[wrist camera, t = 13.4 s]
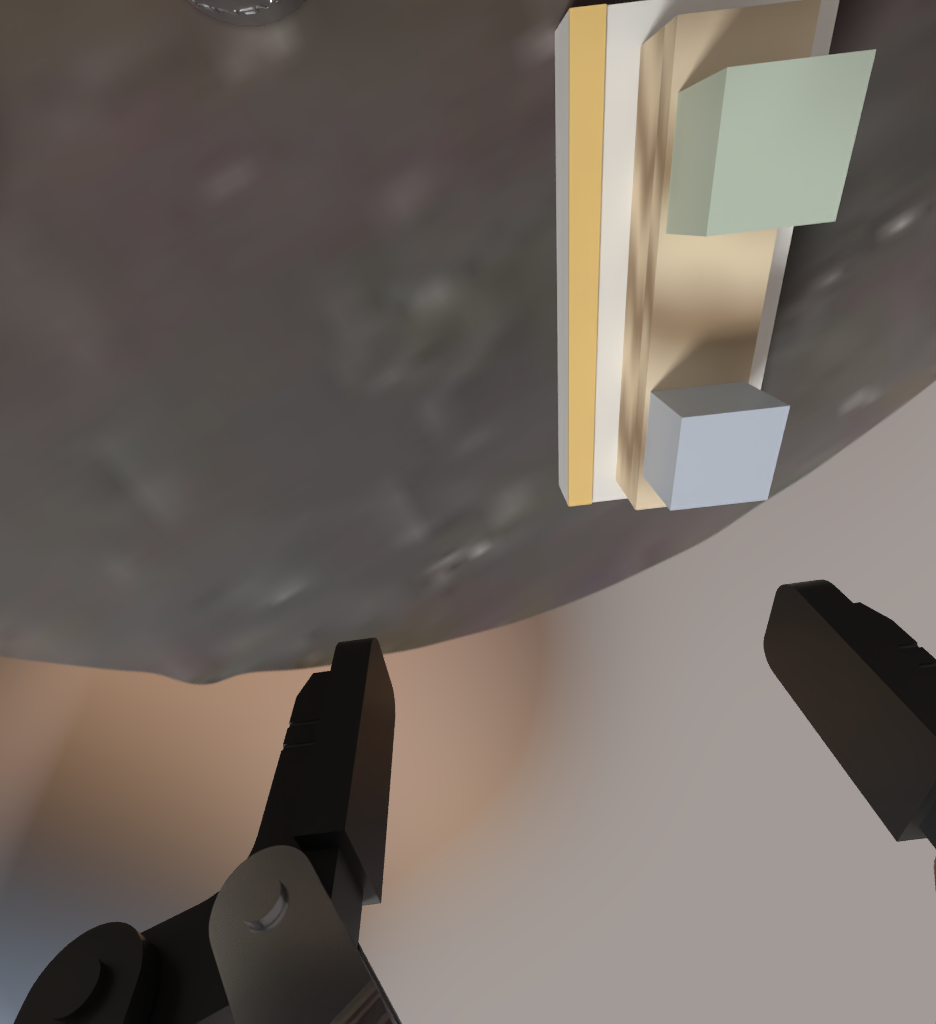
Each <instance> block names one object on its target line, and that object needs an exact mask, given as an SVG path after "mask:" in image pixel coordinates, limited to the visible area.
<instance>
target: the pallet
mask: <svg viewBox="0 0 936 1024" xmlns="http://www.w3.org/2000/svg"><path fill="white" fill-rule="evenodd" d="M820 5H821V0H800V1H791V2H783V3H774V4H766V5H757V6H749V7H741V8H732V9H724V10H715V11H707V12H698V13H690V14H682V15H677V16H676V17H675V18H673V19H672V20H671V21H670V22H669V23H667V24H666V25H665V26H664V27H663V28H661V29H660V30H659V31H658V32H657V33H656V34H654V35H653V36H652V37H651V38H650V39H648V40H647V41H646V42H645V43H644V44H643V45H641V49H640V67H639V84H638V101H637V118H636V136H635V153H634V170H633V187H632V205H631V222H630V239H629V256H628V274H627V291H626V308H625V325H624V343H623V360H622V377H621V394H620V412H619V429H618V446H617V463H616V482H617V483H618V485H619V486H620V488H621V489H622V490H623V492H624V493H625V495H626V496H627V498H628V499H629V501H630V502H631V504H632V505H633V507H634V508H635V510H641V509H650V508H659V507H667V506H666V505H665V503H664V502H663V501H662V500H661V498H660V497H659V496H658V495H657V493H656V492H655V491H654V489H653V488H652V487H651V486H650V484H649V483H648V482H647V481H646V479H645V478H644V477H643V466H644V455H645V444H646V434H647V423H648V412H649V401H650V392H653V391H662V390H671V389H680V388H689V387H698V386H707V385H716V384H725V383H734V382H743V381H744V382H746V383H749V378H750V373H751V367H752V362H753V357H754V352H755V346H756V341H757V336H758V331H759V325H760V320H761V315H762V310H763V304H764V299H765V294H766V289H767V283H768V278H769V273H770V267H771V262H772V257H773V252H774V246H775V241H776V236H777V231H778V228H774V229H766V230H758V231H749V232H741V233H732V234H724V235H715V236H707V237H705V236H691V235H677V234H666V222H667V211H668V200H669V188H670V177H671V166H672V154H673V143H674V132H675V120H676V109H677V98H678V93H679V92H681V91H682V90H684V89H686V88H688V87H690V86H692V85H694V84H696V83H698V82H700V81H702V80H704V79H706V78H708V77H709V76H711V75H713V74H715V73H717V72H719V71H721V70H723V69H725V68H727V67H733V66H742V65H750V64H758V63H767V62H775V61H783V60H791V59H800V58H808V57H811V52H812V47H813V41H814V36H815V31H816V26H817V20H818V15H819V10H820Z"/></svg>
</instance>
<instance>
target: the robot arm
mask: <svg viewBox="0 0 936 1024" xmlns="http://www.w3.org/2000/svg"><path fill="white" fill-rule="evenodd" d="M187 1H188V2H189V3H190V4H192V5H193V6H194V7H195V8H197V9H199V10H201V11H202V12H204V13H206V14H208V15H210V16H211V17H213V18H215V19H217V20H220V21H224V22H227V23H231V24H234V25H237V26H262V25H265V24H269V23H273V22H276V21H279V20H281V19H283V18H284V17H286V16H287V15H289V14H290V13H292V12H294V11H295V10H297V9H298V7H299V6H300V5H301V4H302V3H303V2H304V1H305V0H187ZM764 652H765V656H766V659H767V662H768V664H769V666H770V668H771V669H772V671H773V673H774V674H775V675H776V677H777V678H778V679H779V681H780V682H781V683H782V685H783V686H784V688H785V689H786V690H787V692H788V693H789V694H790V696H791V697H792V699H793V700H794V701H795V702H796V704H797V705H798V707H799V708H800V710H801V711H802V712H803V713H804V715H805V716H806V718H807V719H808V720H809V722H810V723H811V725H812V726H813V727H814V728H815V730H816V731H817V733H818V734H819V735H820V737H821V738H822V740H823V741H824V742H825V744H826V745H827V747H828V748H829V749H830V751H831V752H832V753H833V754H834V756H835V757H836V759H837V760H838V762H839V763H840V764H841V766H842V767H843V768H844V770H845V771H846V772H847V774H848V775H849V777H850V778H851V779H852V781H853V782H854V784H855V785H856V786H857V788H858V789H859V790H860V791H861V793H862V794H863V796H864V797H865V798H866V800H867V801H868V803H869V804H870V805H871V807H872V808H873V810H874V811H875V812H876V814H877V815H878V816H879V818H880V819H881V820H882V822H883V823H884V825H885V826H886V827H887V829H888V830H889V831H890V833H891V834H892V835H893V837H894V838H895V840H896V841H906V840H914V839H922V838H928V839H929V841H930V842H931V843H932V845H933V846H934V847H935V848H936V659H935V658H934V657H933V656H932V655H930V654H929V653H928V652H927V651H926V650H925V649H924V648H923V647H920V648H919V647H918V645H917V642H916V641H915V640H914V639H913V638H912V637H910V636H909V635H908V634H907V633H906V632H905V631H903V629H902V628H900V627H899V626H898V625H897V624H896V623H895V622H894V621H892V620H891V619H889V618H887V617H886V616H884V615H882V614H880V613H878V612H876V611H875V610H873V609H871V608H869V607H867V606H866V605H864V604H862V603H860V602H859V603H852V602H851V601H850V600H849V599H848V598H847V597H846V596H845V595H844V594H843V593H842V592H841V591H840V590H839V589H838V588H836V587H835V586H834V585H833V584H832V583H830V582H829V581H826V580H815V581H807V582H800V583H793V584H785V585H781V586H780V587H779V588H778V589H777V591H776V595H775V599H774V602H773V606H772V610H771V614H770V617H769V621H768V625H767V629H766V633H765V636H764ZM289 723H290V727H289V728H288V729H287V733H286V736H285V740H284V743H283V747H284V748H283V750H282V751H281V754H280V758H279V761H278V765H277V768H276V772H275V775H274V779H273V782H272V786H271V790H270V793H269V797H268V800H267V804H266V807H265V811H264V815H263V818H262V822H261V825H260V829H259V832H258V836H257V839H256V841H255V844H254V847H253V849H252V851H251V853H250V855H249V857H248V858H247V859H246V860H245V861H244V862H243V863H241V864H240V865H239V866H238V867H237V868H236V869H235V870H234V871H233V873H232V874H231V875H230V876H229V878H228V879H227V880H226V882H225V883H224V885H223V886H222V888H221V890H220V891H219V892H217V893H216V894H215V895H214V896H212V897H210V898H209V899H208V900H206V901H204V902H202V903H200V904H199V905H196V906H194V907H192V908H190V909H188V910H186V911H184V912H182V913H180V914H179V915H176V916H174V917H172V918H170V919H168V920H166V921H164V922H162V923H160V924H158V925H156V926H154V927H152V928H150V929H148V930H146V931H144V932H142V933H139V932H138V931H137V930H136V929H135V928H133V927H132V926H131V925H128V924H126V923H122V922H111V923H106V924H103V925H99V926H97V927H95V928H92V929H91V930H89V931H87V932H85V933H84V934H82V935H80V936H79V937H77V938H76V939H75V940H73V941H72V942H71V943H69V944H68V945H67V946H66V947H65V948H64V949H63V950H62V951H61V952H60V953H58V955H57V956H56V957H55V958H54V959H53V960H52V961H51V962H50V963H49V964H48V966H47V967H46V968H45V969H44V971H43V972H42V973H41V975H40V976H39V977H38V979H37V980H36V982H35V983H34V985H33V986H32V988H31V990H30V992H29V993H28V995H27V997H26V999H25V1001H24V1003H23V1005H22V1007H21V1009H20V1011H19V1013H18V1015H17V1018H16V1020H15V1022H14V1024H402V1023H401V1021H400V1019H399V1017H398V1015H397V1013H396V1011H395V1010H394V1008H393V1006H392V1004H391V1002H390V1000H389V998H388V996H387V995H386V993H385V991H384V989H383V987H382V986H381V984H380V981H379V980H378V978H377V976H376V974H375V972H374V970H373V968H372V967H371V965H370V963H369V961H368V959H367V957H366V955H365V954H364V952H363V950H362V948H361V946H360V944H359V942H358V940H359V930H360V920H361V911H362V905H370V904H378V903H381V896H382V883H383V870H384V857H385V843H386V831H387V818H388V805H389V792H390V779H391V766H392V752H393V740H394V727H395V699H394V692H393V687H392V684H391V681H390V677H389V674H388V671H387V668H386V664H385V661H384V658H383V654H382V651H381V648H380V645H379V642H378V640H377V638H368V639H361V640H353V641H346V642H339V643H338V644H337V646H336V649H335V653H334V657H333V662H332V666H331V671H327V672H319V673H313V674H312V676H311V677H310V679H309V680H308V681H307V683H306V684H305V686H304V687H303V688H302V690H301V691H300V693H299V694H298V696H297V697H296V701H295V704H294V708H293V711H292V715H291V718H290V722H289ZM934 875H935V889H936V858H935V860H934Z"/></svg>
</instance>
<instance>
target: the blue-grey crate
mask: <svg viewBox="0 0 936 1024" xmlns="http://www.w3.org/2000/svg"><path fill="white" fill-rule="evenodd" d="M789 408H790V406H789V405H788V404H786V403H784V402H782V401H780V400H778V399H776V398H774V397H773V396H771V395H769V394H767V393H765V392H763V391H761V390H759V389H758V388H756V387H754V386H752V385H750V384H748V383H746V382H744V381H743V382H734V383H725V384H716V385H707V386H698V387H689V388H680V389H671V390H662V391H653V392H650V401H649V412H648V423H647V434H646V444H645V455H644V466H643V477H644V478H645V479H646V481H647V482H648V483H649V484H650V486H651V487H652V488H653V489H654V491H655V492H656V493H657V495H658V496H659V497H660V498H661V500H662V501H663V502H664V503H665V505H666V506H667V507H668V508H669V510H679V509H688V508H697V507H706V506H715V505H725V504H734V503H743V502H752V501H761V500H767V499H768V495H769V491H770V487H771V482H772V478H773V474H774V470H775V466H776V462H777V458H778V453H779V449H780V445H781V441H782V437H783V433H784V429H785V425H786V420H787V416H788V412H789Z"/></svg>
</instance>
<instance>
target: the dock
mask: <svg viewBox="0 0 936 1024" xmlns="http://www.w3.org/2000/svg"><path fill="white" fill-rule="evenodd" d="M791 1H800V0H645V1H637V2H629V3H620V4H612V5H607V4H599V5H591V6H583V7H575V8H569V10H568V12H567V13H566V15H565V16H564V18H563V20H562V21H561V23H560V24H559V26H558V27H557V29H556V31H555V114H556V222H557V330H558V438H559V486H560V488H561V491H562V493H563V495H564V497H565V499H566V502H567V504H568V506H577V505H586V504H592V502H599V501H608V500H616V499H625V498H627V496H626V495H625V493H624V492H623V490H622V489H621V488H620V486H619V485H618V483H617V482H616V463H617V446H618V429H619V412H620V394H621V377H622V360H623V343H624V325H625V308H626V291H627V274H628V256H629V239H630V222H631V205H632V187H633V170H634V153H635V136H636V118H637V101H638V84H639V67H640V49H641V45H643V44H644V43H645V42H646V41H647V40H648V39H650V38H651V37H652V36H653V35H654V34H656V33H657V32H658V31H659V30H660V29H661V28H663V27H664V26H665V25H666V24H667V23H669V22H670V21H671V20H672V19H673V18H675V17H676V16H677V15H682V14H690V13H698V12H707V11H715V10H724V9H732V8H741V7H749V6H757V5H766V4H774V3H783V2H791ZM838 5H839V0H821V5H820V10H819V15H818V20H817V26H816V31H815V36H814V41H813V47H812V52H811V57H816V56H825V55H829V50H830V45H831V40H832V35H833V30H834V25H835V20H836V15H837V10H838ZM793 227H794V226H791V227H783V228H778V231H777V236H776V241H775V246H774V252H773V257H772V262H771V267H770V273H769V278H768V283H767V289H766V294H765V299H764V304H763V310H762V315H761V320H760V325H759V331H758V336H757V341H756V346H755V352H754V357H753V362H752V367H751V373H750V378H749V383H748V384H750V385H752V386H754V387H756V388H758V389H759V390H761V385H762V381H763V376H764V371H765V366H766V361H767V356H768V351H769V346H770V341H771V336H772V331H773V326H774V321H775V316H776V311H777V306H778V302H779V297H780V292H781V287H782V282H783V277H784V272H785V267H786V262H787V257H788V252H789V247H790V242H791V237H792V232H793Z"/></svg>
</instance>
